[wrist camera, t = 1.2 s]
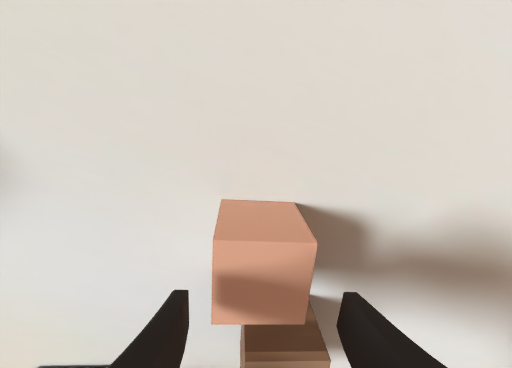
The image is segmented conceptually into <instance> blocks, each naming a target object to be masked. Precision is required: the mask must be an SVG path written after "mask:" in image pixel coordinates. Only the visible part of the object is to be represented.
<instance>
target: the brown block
mask: <svg viewBox="0 0 512 368" xmlns="http://www.w3.org/2000/svg"><path fill="white" fill-rule="evenodd" d="M330 363H331V360H330V357H329V354H328V351H327V349H326V346H325V343H324V340H323V338H322V335H321V332H320V329H319V327H318V324H317V321H316V318H315V315H314V313H313V310H312V307H311V304H310V302H309V300H308V306H307V312H306V318H305V324H242V326H241V341H240V368H329V367H330Z"/></svg>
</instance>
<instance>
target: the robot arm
mask: <svg viewBox="0 0 512 368" xmlns="http://www.w3.org/2000/svg"><path fill="white" fill-rule="evenodd" d="M188 328H189V298H188V290H174V291H173V292H172V293H171V294H170V296H169V297H168V298H167V300H166V301H165V303H164V304H163V305H162V307H161V308H160V309H159V310H158V312H157V313H156V314H155V316H154V317H153V318H152V319H151V320H150V322H149V323H148V324H147V325H146V327H145V328H144V329H143V330H142V331H141V333H140V334H139V335H138V336H137V337H136V338H135V339H134V340H133V341H132V343H131V344H130V345H129V346H128V347H127V348H126V349H125V350H124V351H123V353H122V354H121V355H120V356H119V357H118V358H117V359H116V360H115V361H114V362H113V363H112V364H111V365H110V366H109V367H108V368H180V364H181V361H182V357H183V354H184V350H185V344H186V339H187V334H188ZM337 329H338V333H339V336H340V339H341V343H342V346H343V349H344V351H345V354H346V356H347V358H348V361H349V363H350V365H351V368H447V367H446V366H444V365H443V364H442V363H440V362H439V361H437V360H436V359H435V358H433V357H432V356H431V355H429V354H428V353H427V352H426V351H424V350H423V349H422V348H421V347H419V346H418V345H417V344H416V343H414V342H413V341H412V340H411V339H409V338H408V337H407V336H406V335H405V334H403V333H402V332H401V331H400V330H399V329H397V328H396V327H395V326H394V325H393V324H392V323H391V322H389V321H388V320H387V319H386V318H385V317H384V316H383V315H382V314H380V313H379V312H378V311H377V310H376V309H375V308H374V307H373V306H371V305H370V304H369V303H368V302H367V301H366V300H365V299H364V298H362V297H361V296H360V295H359V294H358V293H357V292H344V294H343V298H342V303H341V308H340V312H339V317H338V322H337Z"/></svg>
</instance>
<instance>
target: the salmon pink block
mask: <svg viewBox="0 0 512 368" xmlns="http://www.w3.org/2000/svg"><path fill="white" fill-rule="evenodd" d="M317 245H318V243H317V241H316V239H315V237H314V236H313V234H312V232H311V231H310V229H309V227H308V225H307V224H306V222H305V220H304V219H303V217H302V215H301V214H300V212H299V210H298V208H297V207H296V205H295V203H292V202H268V201H244V200H221V204H220V208H219V213H218V218H217V223H216V228H215V232H214V237H213V260H212V312H211V325H213V324H305V318H306V312H307V306H308V300H309V294H310V288H311V282H312V275H313V269H314V263H315V257H316V251H317Z"/></svg>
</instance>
